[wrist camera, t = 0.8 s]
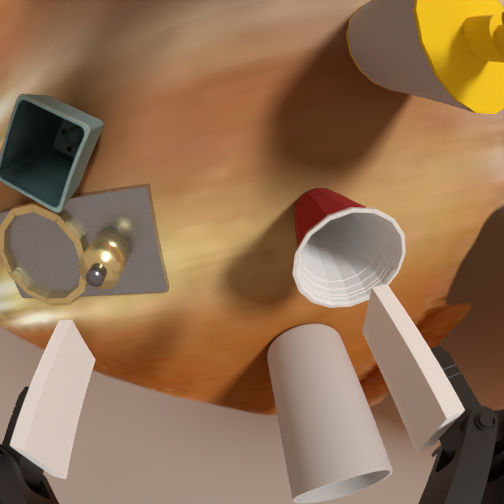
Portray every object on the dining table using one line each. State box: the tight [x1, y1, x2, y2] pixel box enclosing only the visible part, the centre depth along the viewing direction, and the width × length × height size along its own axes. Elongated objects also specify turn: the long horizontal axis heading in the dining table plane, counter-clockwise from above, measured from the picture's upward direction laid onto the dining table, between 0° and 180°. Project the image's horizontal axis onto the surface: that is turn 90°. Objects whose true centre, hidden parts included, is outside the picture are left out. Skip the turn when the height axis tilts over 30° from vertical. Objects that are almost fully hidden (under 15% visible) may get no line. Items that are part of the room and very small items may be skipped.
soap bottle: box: [346, 0, 504, 114], centre depth 17 cm, size 13×13×21 cm
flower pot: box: [0, 94, 104, 213], centre depth 24 cm, size 9×9×9 cm
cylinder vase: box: [267, 324, 393, 503], centre depth 37 cm, size 12×12×25 cm
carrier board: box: [0, 184, 169, 304], centre depth 31 cm, size 15×25×8 cm, turn 92°
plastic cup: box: [292, 188, 406, 308], centre depth 31 cm, size 11×11×12 cm
